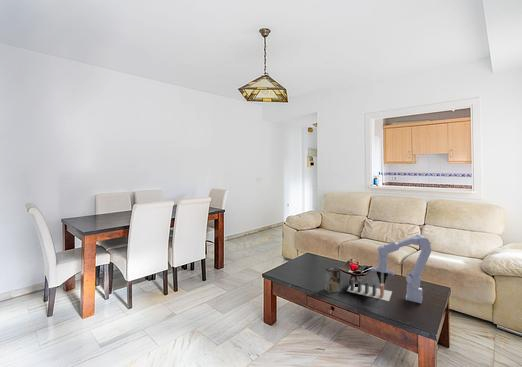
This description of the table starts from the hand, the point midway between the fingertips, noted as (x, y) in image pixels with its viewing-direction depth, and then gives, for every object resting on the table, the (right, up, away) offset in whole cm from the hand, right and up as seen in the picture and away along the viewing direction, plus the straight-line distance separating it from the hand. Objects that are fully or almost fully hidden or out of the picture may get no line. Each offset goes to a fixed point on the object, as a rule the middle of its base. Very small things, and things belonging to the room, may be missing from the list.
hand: (382, 282), depth 188 cm
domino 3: (-8, -9, +6) cm, 14 cm away
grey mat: (-6, -9, +8) cm, 14 cm away
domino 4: (-4, -9, +3) cm, 11 cm away
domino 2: (-13, -9, +9) cm, 18 cm away
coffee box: (-32, -10, +10) cm, 35 cm away
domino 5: (0, -9, +1) cm, 9 cm away
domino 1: (-17, -9, +11) cm, 22 cm away
